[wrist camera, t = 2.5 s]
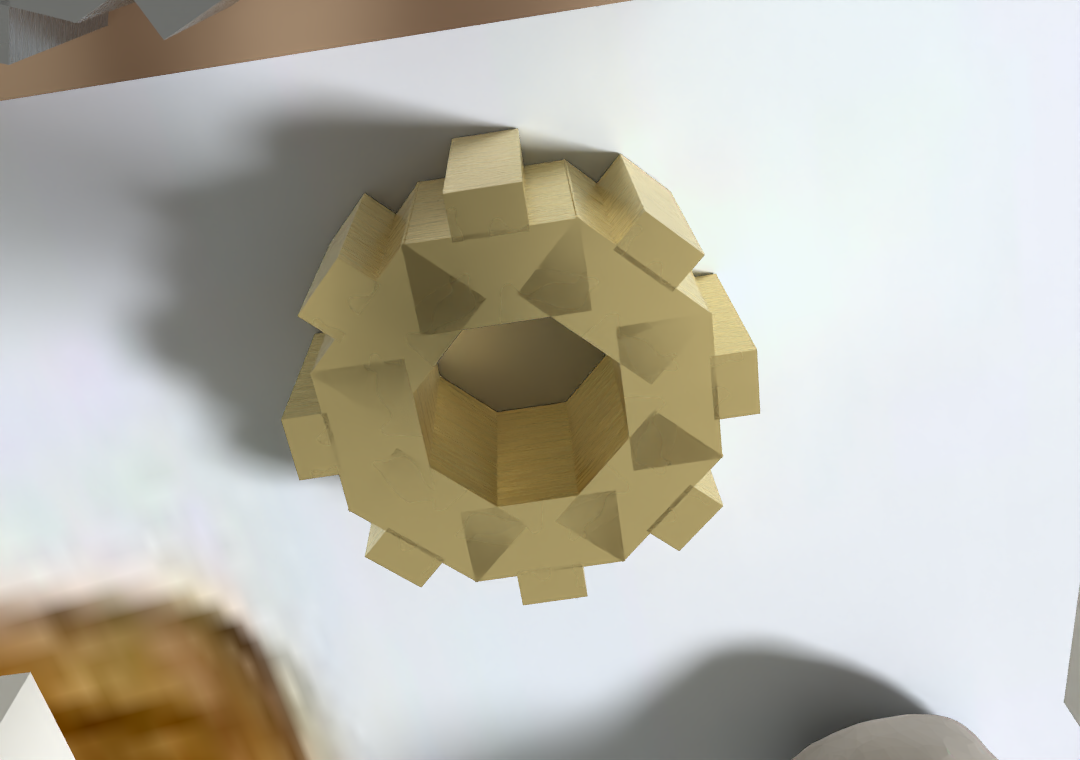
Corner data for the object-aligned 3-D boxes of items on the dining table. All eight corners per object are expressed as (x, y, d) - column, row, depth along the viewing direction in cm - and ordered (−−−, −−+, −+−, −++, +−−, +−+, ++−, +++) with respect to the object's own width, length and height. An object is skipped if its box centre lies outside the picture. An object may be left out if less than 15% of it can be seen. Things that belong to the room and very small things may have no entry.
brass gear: (366, 522, 25) (345, 630, 22) (269, 167, 21) (222, 227, 17) (729, 470, 25) (768, 570, 21) (703, 99, 21) (746, 146, 17)
